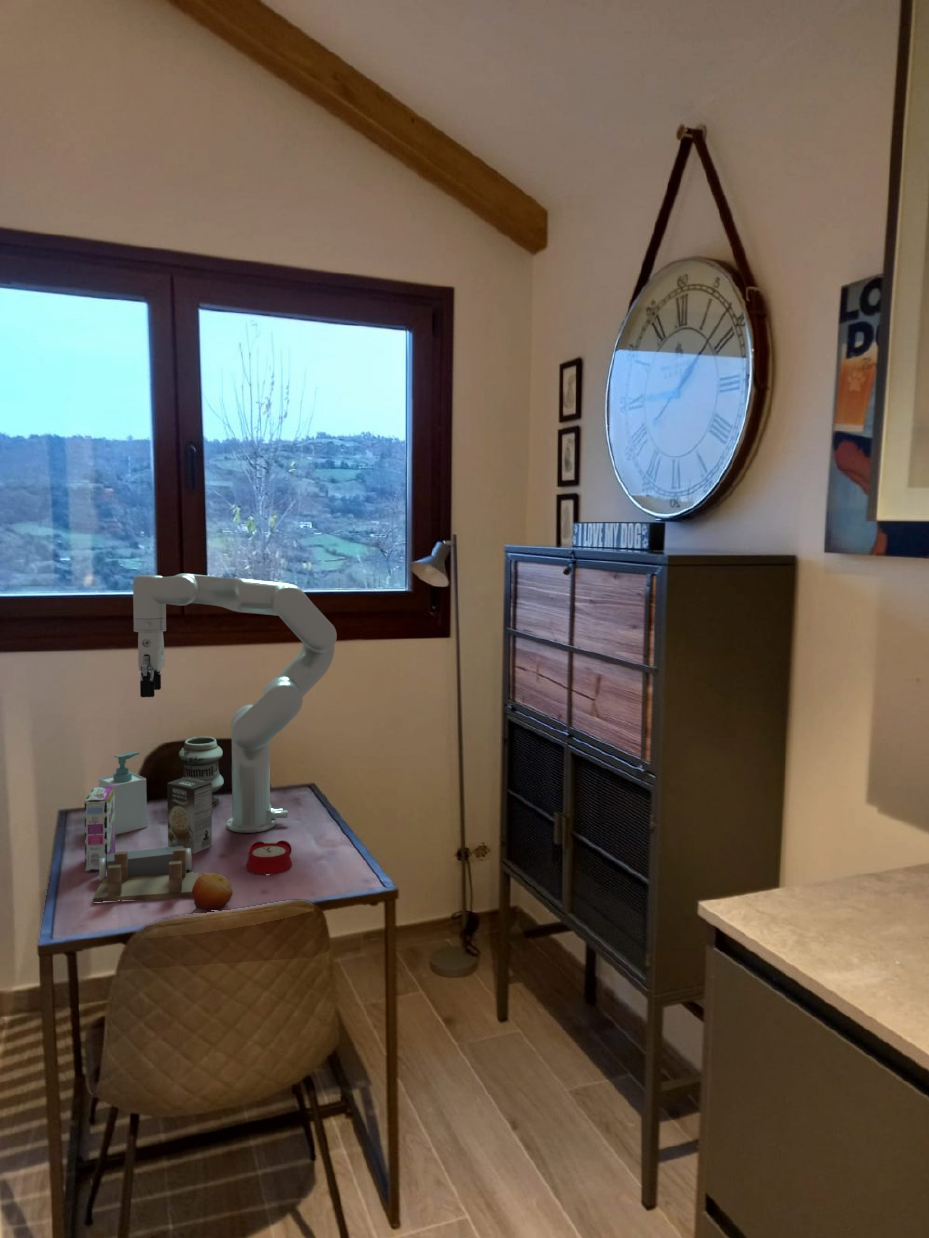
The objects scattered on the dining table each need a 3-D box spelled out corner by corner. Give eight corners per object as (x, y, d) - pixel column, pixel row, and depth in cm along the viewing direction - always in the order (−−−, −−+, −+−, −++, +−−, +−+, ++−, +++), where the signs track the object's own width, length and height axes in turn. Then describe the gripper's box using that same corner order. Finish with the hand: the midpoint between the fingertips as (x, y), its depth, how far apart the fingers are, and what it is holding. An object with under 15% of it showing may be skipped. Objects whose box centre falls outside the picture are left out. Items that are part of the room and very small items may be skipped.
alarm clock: (243, 863, 189) (248, 826, 203) (244, 887, 191) (249, 848, 205) (291, 861, 191) (293, 824, 205) (291, 884, 193) (293, 847, 207)
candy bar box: (108, 871, 192) (106, 799, 190) (84, 872, 191) (82, 801, 189) (117, 852, 203) (115, 785, 201) (94, 854, 202) (92, 786, 200)
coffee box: (166, 847, 207) (165, 782, 205) (186, 839, 213) (185, 776, 211) (194, 854, 203) (193, 788, 201) (213, 845, 208) (213, 781, 207)
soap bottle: (148, 827, 221) (146, 754, 219) (114, 835, 214) (112, 760, 212) (132, 819, 227) (131, 748, 225) (99, 826, 220) (97, 754, 218)
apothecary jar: (181, 811, 233) (180, 746, 232) (176, 798, 244) (175, 736, 243) (227, 806, 238) (226, 742, 237) (220, 793, 249) (219, 733, 248)
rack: (199, 877, 189) (199, 846, 188) (195, 896, 179) (194, 863, 179) (103, 884, 185) (102, 851, 184) (93, 903, 175) (92, 869, 174)
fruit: (187, 893, 178) (207, 861, 177) (221, 911, 179) (241, 879, 178) (178, 910, 170) (198, 876, 169) (213, 929, 171) (234, 895, 170)
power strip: (190, 865, 196) (189, 841, 196) (191, 873, 192) (191, 849, 191) (100, 876, 189) (99, 852, 188) (99, 885, 185) (98, 860, 184)
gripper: (160, 628, 204) (161, 699, 205) (171, 621, 221) (171, 686, 222) (126, 628, 202) (128, 700, 204) (140, 621, 219) (141, 687, 221)
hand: (150, 693), depth 213 cm, fingers open, 9 cm apart
